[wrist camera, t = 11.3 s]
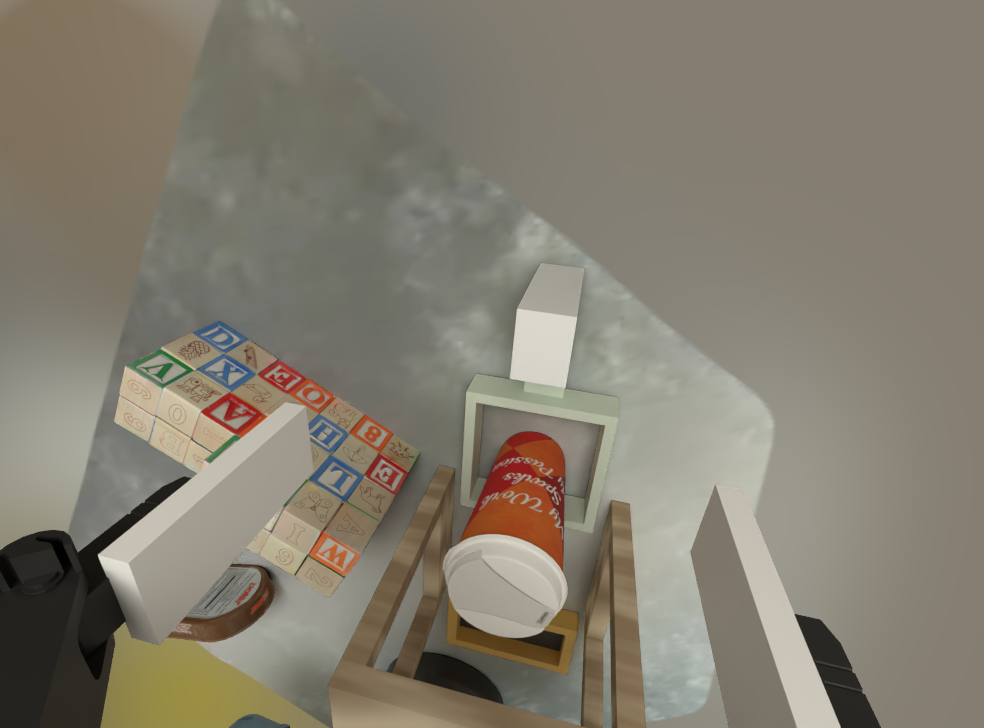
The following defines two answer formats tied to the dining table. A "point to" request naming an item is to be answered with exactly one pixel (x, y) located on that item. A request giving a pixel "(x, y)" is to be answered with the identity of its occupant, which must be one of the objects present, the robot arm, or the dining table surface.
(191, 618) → the tin
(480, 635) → the pit trap
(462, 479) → the collar
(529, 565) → the paper cup
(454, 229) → the dining table surface
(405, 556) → the oak tunnel
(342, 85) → the dining table surface
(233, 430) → the stack of blocks
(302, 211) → the dining table surface
